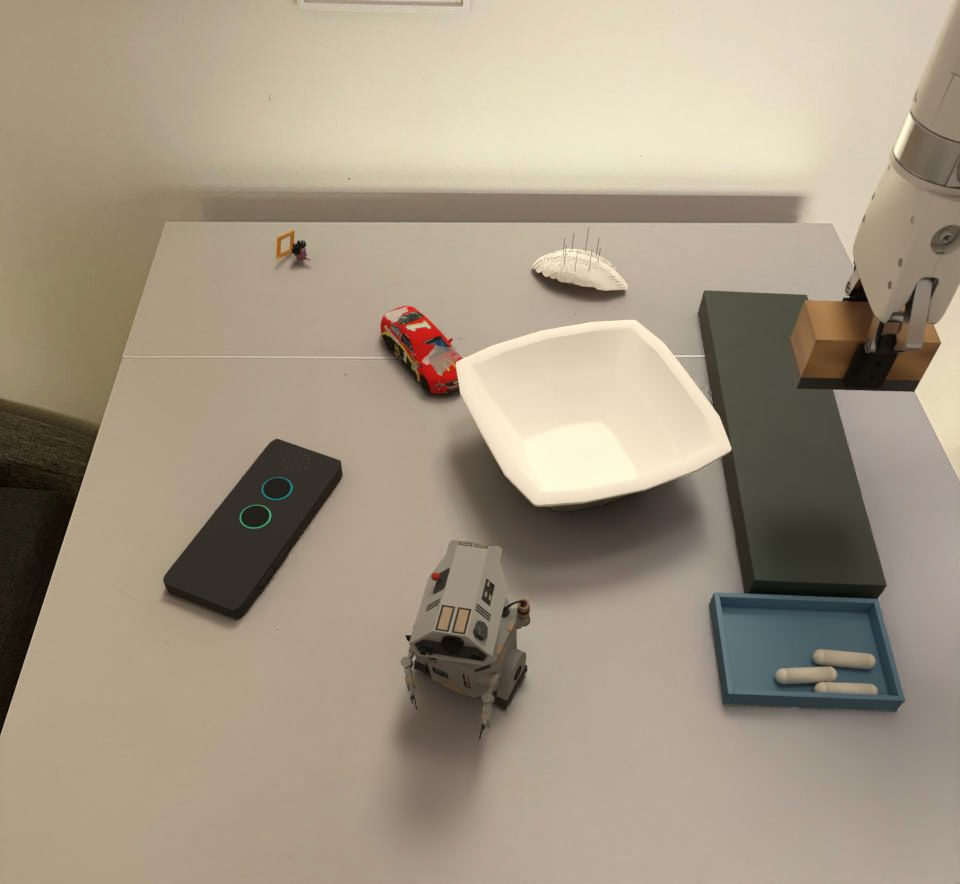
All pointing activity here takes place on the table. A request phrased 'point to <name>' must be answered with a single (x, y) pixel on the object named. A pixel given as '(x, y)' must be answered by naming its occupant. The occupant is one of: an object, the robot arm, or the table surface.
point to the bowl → (589, 413)
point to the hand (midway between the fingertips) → (853, 360)
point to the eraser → (848, 347)
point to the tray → (800, 649)
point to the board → (784, 457)
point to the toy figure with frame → (292, 247)
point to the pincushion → (580, 269)
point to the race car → (421, 349)
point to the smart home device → (254, 529)
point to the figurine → (469, 629)
